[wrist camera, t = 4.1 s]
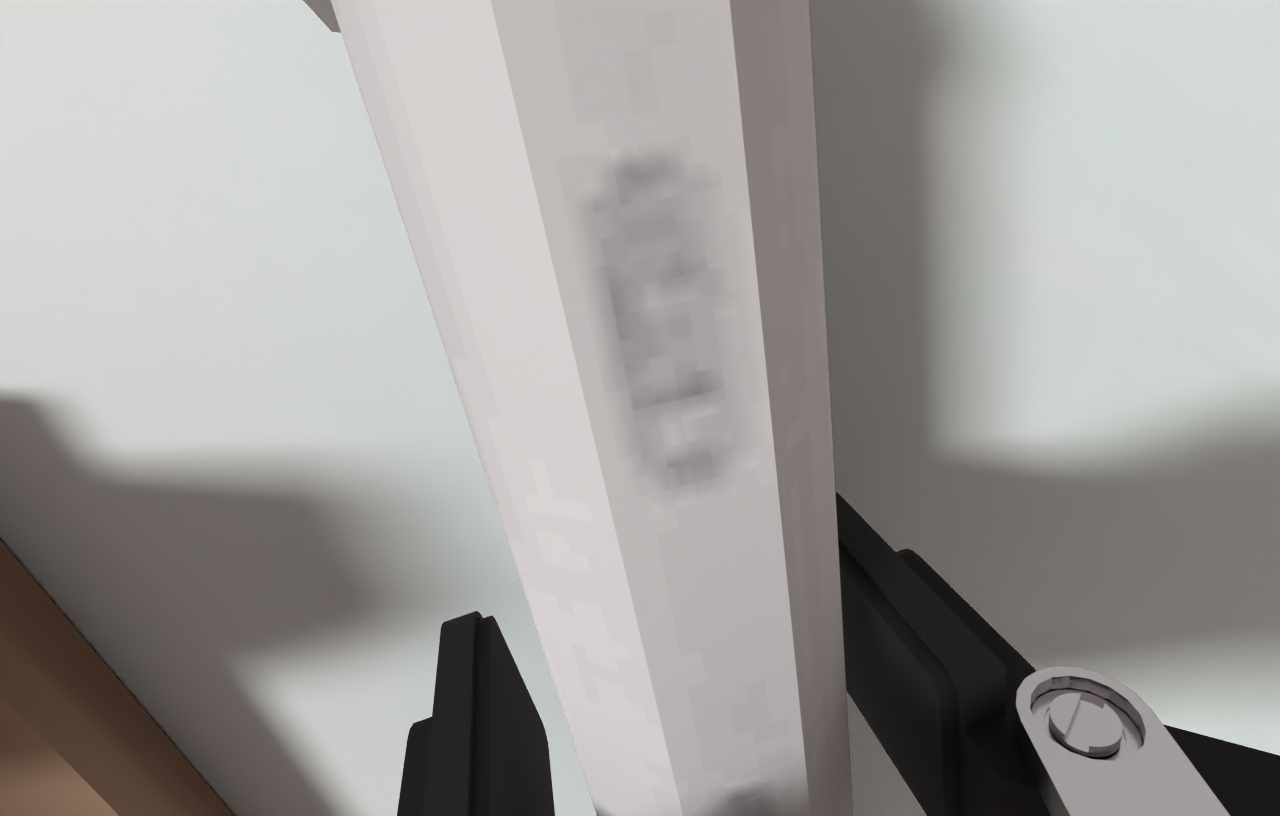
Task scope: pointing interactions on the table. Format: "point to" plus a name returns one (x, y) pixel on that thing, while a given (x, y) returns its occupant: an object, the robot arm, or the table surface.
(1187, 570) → the table surface
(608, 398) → the electric toothbrush handle
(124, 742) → the rack
